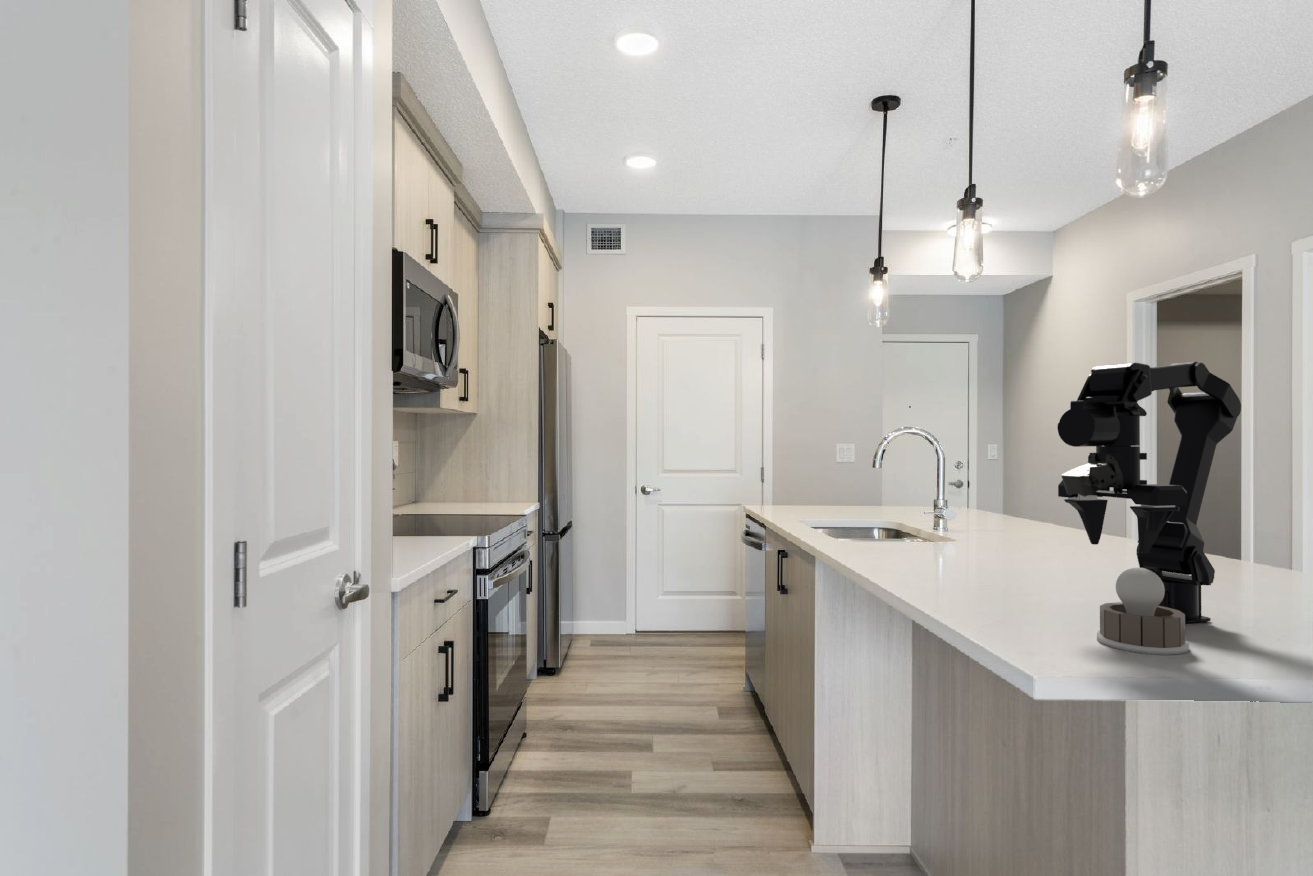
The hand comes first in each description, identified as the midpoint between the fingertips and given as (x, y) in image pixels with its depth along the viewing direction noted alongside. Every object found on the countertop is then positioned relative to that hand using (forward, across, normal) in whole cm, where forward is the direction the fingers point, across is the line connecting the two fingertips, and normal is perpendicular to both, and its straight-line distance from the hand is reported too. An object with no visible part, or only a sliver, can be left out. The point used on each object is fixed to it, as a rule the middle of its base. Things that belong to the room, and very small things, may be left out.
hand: (1118, 548), depth 114 cm
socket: (+12, +7, -3) cm, 15 cm away
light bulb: (+12, +7, -3) cm, 14 cm away
